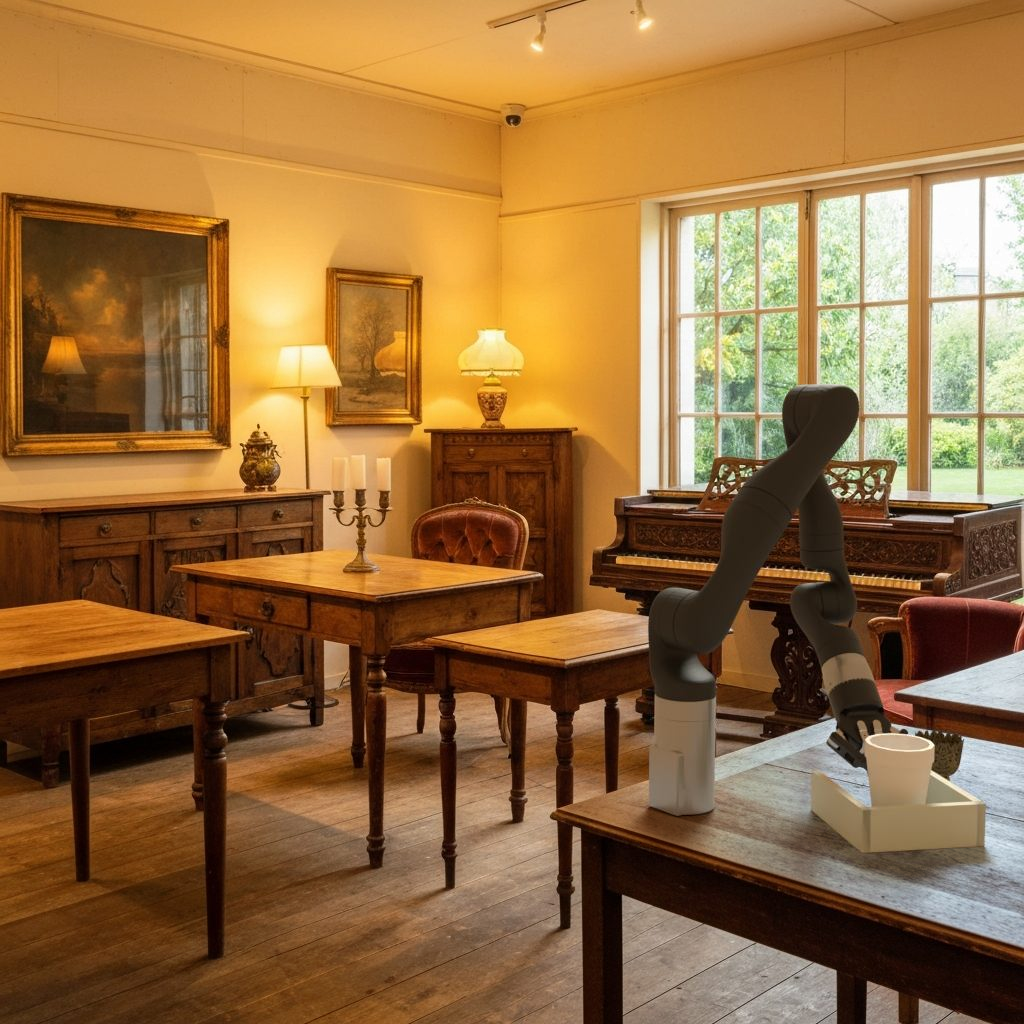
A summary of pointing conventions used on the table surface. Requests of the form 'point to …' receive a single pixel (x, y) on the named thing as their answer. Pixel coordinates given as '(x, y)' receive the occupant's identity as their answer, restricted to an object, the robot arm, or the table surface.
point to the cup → (944, 752)
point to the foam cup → (898, 768)
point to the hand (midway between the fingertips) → (884, 790)
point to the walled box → (902, 818)
